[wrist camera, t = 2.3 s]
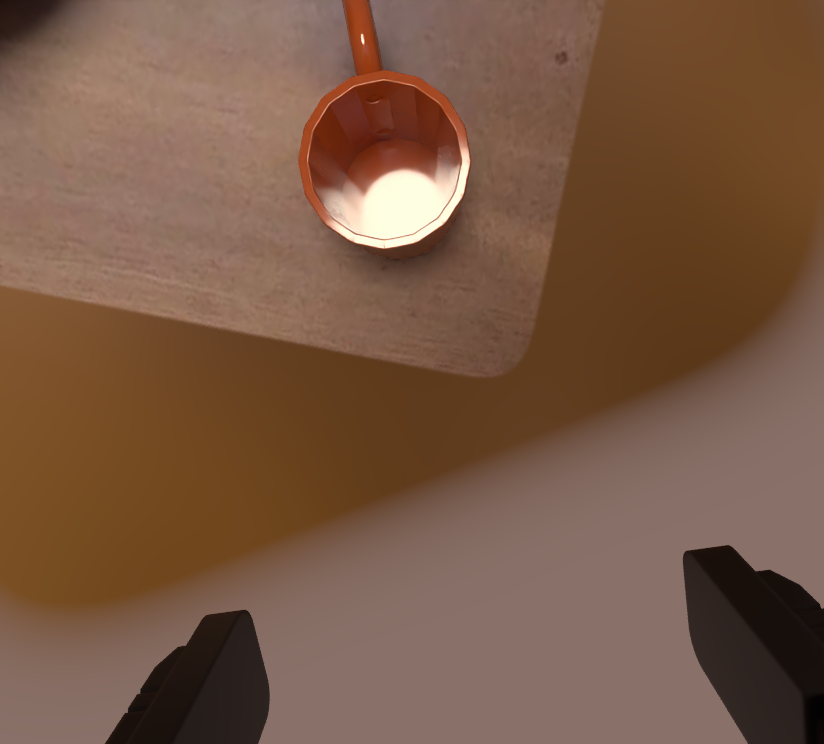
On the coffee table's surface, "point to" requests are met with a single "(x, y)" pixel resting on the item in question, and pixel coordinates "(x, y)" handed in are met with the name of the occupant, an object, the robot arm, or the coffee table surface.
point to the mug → (384, 154)
